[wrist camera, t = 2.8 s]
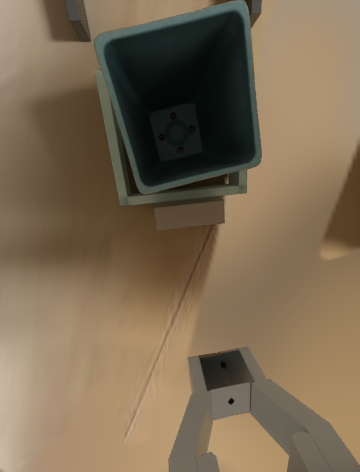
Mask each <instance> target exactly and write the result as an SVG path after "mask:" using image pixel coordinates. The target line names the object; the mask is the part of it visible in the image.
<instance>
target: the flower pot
mask: <svg viewBox="0 0 360 472" xmlns="http://www.w3.org/2000/svg"><path fill="white" fill-rule="evenodd" d="M94 48H95V52H96V55H97V59H98V62H99V65H100V67H101V71H102V74H103V77H104V80H105V83H106V87H107V90H108V93H109V95H110V99H111V102H112V105H113V108H114V112H115V115H116V118H117V122H118V125H119V128H120V131H121V134H122V137H123V141H124V144H125V147H126V151H127V154H128V158H129V161H130V165H131V168H132V171H133V175H134V179H135V182H136V185H137V188H138V190H139V191H140V193H142V194H151V193H155V192H158V191H162V190H166V189H169V188H173V187H177V186H181V185H185V184H189V183H192V182H196V181H200V180H204V179H209V178H212V177H216V176H220V175H224V174H229V173H232V172H237V171H241V170H245V169H250V168H253V167H256V166H257V165H259V164H260V162H261V157H262V154H261V153H262V151H261V140H260V131H259V122H258V114H257V101H256V91H255V81H254V80H255V79H254V66H253V53H252V41H251V27H250V16H249V11H248V7H247V4H246V2H245V1H244V0H235V1H229V2H227V3H223V4H218V5H215V6H211V7H207V8H203V9H201V10H197V11H194V12H189V13H185V14H182V15H177V16H173V17H169V18H165V19H161V20H157V21H153V22H149V23H145V24H141V25H136V26H132V27H127V28H123V29H117V30H112V31H107V32H104V33H102V34H100V35H98V36H97V37H96V38H95V39H94ZM172 113H174V114H175V115H176V117H175V119H172V118H171V117H170V115H171V114H172ZM190 127H193V128H194V132H193V133H191V132H190V131H189V128H190ZM161 134H162V135H163V136H164V139H163V140H160V138H159V136H160V135H161ZM179 147H181V148H182V149H183V151H182V152H179V151H178V148H179Z"/></svg>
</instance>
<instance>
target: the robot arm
mask: <svg viewBox="0 0 360 472" xmlns="http://www.w3.org/2000/svg"><path fill="white" fill-rule="evenodd" d="M188 367H189V376H190V384H191V390H192V395H191V397H190V400H189V402H188V405H187V408H186V411H185V414H184V417H183V420H182V422H181V425H180V428H179V431H178V434H177V437H176V440H175V443H174V445H173V449H172V451H171V454H170V457H169V460H168V461H169V472H220V471H219V467H218V462H217V458H216V456H215V455H214V454H213V453H212V452H209V453H207V450H208V445H209V440H210V434H211V429H212V424H213V420H217V419H221V418H225V417H229V416H233V415H239V414H244V413H250V412H251V414H252V416H253V417H254V418H255V419H256V420H257V421H258V422H259V423H260V425H261V426H262V427H263V428H264V429H265V430H266V431H267V432H268V433H269V434H270V435H271V436H272V438H273V439H274V440H275V441H276V442H277V443H278V444H279V445H280V446H281V447H282V448H283V450H285V452H286V453H287V454H288V455H289V461H288V468H287V472H360V465H359V464H358V462H357V461H356V459H355V458H354V457H353V455H352V454H351V453H350V451H349V449H348V448H347V447H346V445H345V444H344V442H343V441H342V440H341V438H340V437H339V436H338V434H337V433H336V431H335V430H334V428H333V427H332V425H331V424H330V423H329V422H328V421H326V420H325V419H323V418H322V417H321V416H319V415H318V414H317V413H315V412H314V411H313V410H311V409H310V408H309V407H307V406H306V405H304V404H303V403H302V402H300V401H299V400H297V399H296V398H295V397H294V396H292V395H291V394H290V393H288V392H287V391H286V390H284V389H283V388H282V387H280V386H279V385H277V384H276V383H275V382H273V381H272V380H271V379H266V377H265V375H264V373H263V372H262V370H261V368H260V366H259V364H258V363H257V361H256V359H255V357H254V355H253V354H252V352H251V350H250V348H249V347H243V348H238V349H237V348H236V349H231V350H226V351H221V352H218V353H212V354H205V355H199V356H193V357H188Z"/></svg>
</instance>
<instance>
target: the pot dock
mask: <svg viewBox="0 0 360 472" xmlns="http://www.w3.org/2000/svg"><path fill="white" fill-rule="evenodd" d="M65 1H66V6H67V11H68V16H69V20H70V22H71V24H72V26H73V27H74V29H75V31H76V32H77V34H78V36H79V38H80V39H81V41H82V42H85V41H91V38H90V32H89V27H88V22H87V16H86V11H85V6H84V0H65ZM244 1H245V2H246V4H247V7H248V11H249V16H250V27H251V28H252V26H253V25H254V23H255V22H256V20H257V18H258V17H259V15H260V14H261V3H262V0H244Z"/></svg>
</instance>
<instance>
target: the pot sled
mask: <svg viewBox="0 0 360 472" xmlns="http://www.w3.org/2000/svg"><path fill="white" fill-rule="evenodd" d="M94 71H95V77H96V82H97V87H98V92H99V98H100V103H101V108H102V113H103V119H104V124H105V129H106V134H107V140H108V145H109V150H110V155H111V161H112V166H113V171H114V176H115V182H116V187H117V192H118V197H119V203H120V206H129V205H138V204H148V203H154V215H155V222H156V229H157V231H162V230H170V229H179V228H187V227H196V226H205V225H213V224H222V223H225V222H224V200H222V199H220V198H217V197H215V196H223V195H232V194H242V193H246V192H247V169H245V170H241V171H237V172H232V173H229V184H223V185H213V186H204V187H194V188H184V189H174V190H165V191H158V192H155V193H151V194H142V193H136V194H131V189H130V183H129V177H128V171H127V165H126V159H125V153H124V147H123V141H122V135H121V131H120V128H119V125H118V122H117V118H116V115H115V112H114V108H113V105H112V102H111V99H110V95H109V93H108V90H107V87H106V83H105V80H104V77H103V74H102V71H101V70H94Z"/></svg>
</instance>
